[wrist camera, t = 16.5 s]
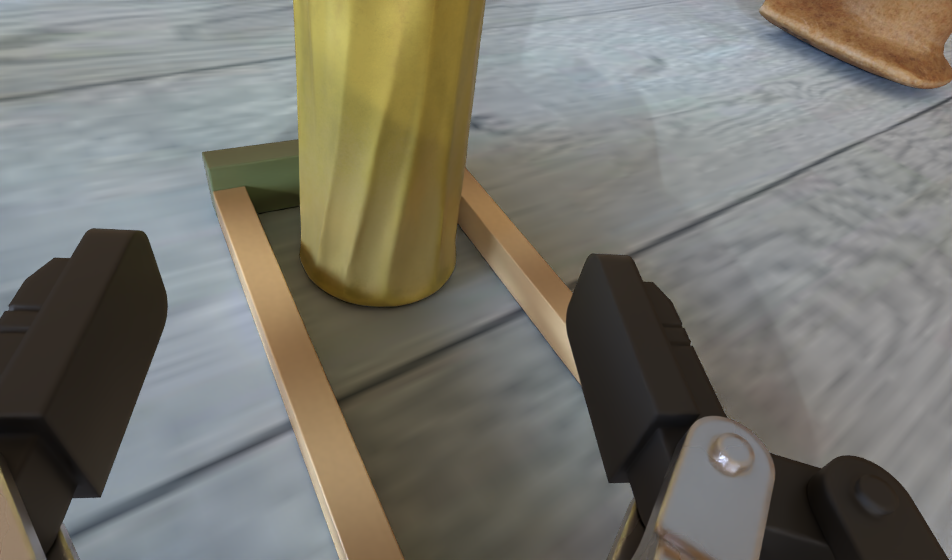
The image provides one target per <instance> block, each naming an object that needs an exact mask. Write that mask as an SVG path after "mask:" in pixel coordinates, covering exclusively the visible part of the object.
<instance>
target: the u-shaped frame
mask: <svg viewBox="0 0 952 560" xmlns="http://www.w3.org/2000/svg"><path fill="white" fill-rule="evenodd" d="M202 157H203V162H204V167H205V171H206V176H207V180H208V185H209V190H210V194H211V199H212V203H213V206H214V209H215V212H216V215H217V217H218V220H219V223H220V226H221V229H222V232H223V234H224V237H225V240H226V243H227V246H228V248H229V251H230V254H231V257H232V260H233V262H234V265H235V268H236V271H237V274H238V276H239V279H240V282H241V285H242V288H243V290H244V293H245V296H246V299H247V302H248V304H249V307H250V310H251V313H252V316H253V318H254V321H255V324H256V327H257V330H258V332H259V335H260V338H261V341H262V344H263V346H264V349H265V352H266V355H267V357H268V360H269V363H270V366H271V369H272V371H273V374H274V377H275V380H276V383H277V385H278V388H279V391H280V394H281V397H282V399H283V402H284V405H285V408H286V411H287V413H288V416H289V419H290V422H291V425H292V427H293V430H294V433H295V436H296V439H297V441H298V444H299V447H300V450H301V453H302V455H303V458H304V461H305V464H306V467H307V469H308V472H309V475H310V478H311V481H312V483H313V486H314V489H315V492H316V495H317V497H318V500H319V503H320V506H321V509H322V511H323V514H324V517H325V520H326V523H327V525H328V528H329V531H330V534H331V536H332V539H333V542H334V545H335V548H336V550H337V553H338V556H339V559H340V560H405V559H404V557H403V554H402V552H401V550H400V547H399V545H398V543H397V540H396V538H395V536H394V533H393V531H392V529H391V526H390V524H389V522H388V519H387V517H386V515H385V512H384V510H383V508H382V505H381V503H380V500H379V498H378V496H377V493H376V491H375V489H374V486H373V484H372V482H371V479H370V477H369V475H368V472H367V470H366V468H365V465H364V463H363V461H362V458H361V456H360V454H359V451H358V449H357V447H356V444H355V442H354V440H353V437H352V435H351V433H350V430H349V428H348V426H347V423H346V421H345V419H344V416H343V414H342V412H341V409H340V407H339V405H338V402H337V400H336V398H335V395H334V393H333V391H332V388H331V386H330V384H329V381H328V379H327V377H326V374H325V372H324V369H323V367H322V365H321V362H320V360H319V358H318V355H317V353H316V351H315V348H314V346H313V344H312V341H311V339H310V337H309V334H308V332H307V330H306V327H305V325H304V323H303V320H302V318H301V316H300V313H299V311H298V309H297V306H296V304H295V302H294V299H293V297H292V295H291V292H290V290H289V288H288V285H287V283H286V281H285V278H284V276H283V274H282V271H281V269H280V267H279V264H278V262H277V260H276V257H275V255H274V253H273V250H272V248H271V246H270V243H269V241H268V239H267V236H266V234H265V231H264V229H263V227H262V224H261V222H260V220H259V217H258V215H257V213H263V212H268V211H273V210H279V209H284V208H290V207H295V206H300V180H299V139H297V140H290V141H282V142H275V143H267V144H260V145H252V146H244V147H237V148H229V149H222V150H214V151H207V152H202ZM457 223H458V224H459V226H460V227H461V228H462V230H463V231H464V232H465V233H466V235H467V236H468V237H469V239H470V240H471V241H472V243H473V244H474V245H475V247H476V248H477V249H478V251H479V252H480V253H481V255H482V256H483V257H484V258H485V260H486V261H487V262H488V264H489V265H490V266H491V268H492V269H493V270H494V272H495V273H496V274H497V276H498V277H499V278H500V280H501V281H502V282H503V284H504V285H505V286H506V287H507V289H508V290H509V291H510V293H511V294H512V295H513V297H514V298H515V299H516V301H517V302H518V303H519V305H520V306H521V307H522V309H523V310H524V311H525V312H526V314H527V315H528V316H529V318H530V319H531V320H532V322H533V323H534V324H535V326H536V327H537V328H538V330H539V331H540V332H541V334H542V335H543V336H544V338H545V339H546V340H547V341H548V343H549V344H550V345H551V347H552V348H553V349H554V351H555V352H556V353H557V355H558V356H559V357H560V359H561V360H562V361H563V363H564V364H565V365H566V366H567V368H568V369H569V370H570V372H571V373H572V374H573V376H574V377H575V378H576V380H577V381H578V382H579V384H580V385H581V382H580V379H579V375H578V372H577V368H576V365H575V361H574V358H573V354H572V350H571V347H570V343H569V340H568V336H567V331H566V313H567V308H568V304H569V302H570V299H571V297H572V294H573V293H572V292H571V291H570V290H569V288H568V287H567V286H566V285H565V284H564V282H563V281H562V280H561V279H560V278H559V277H558V275H557V274H556V273H555V272H554V271H553V270H552V268H551V267H550V266H549V265H548V264H547V263H546V261H545V260H544V259H543V258H542V257H541V255H540V254H539V253H538V252H537V251H536V250H535V248H534V247H533V246H532V245H531V244H530V243H529V241H528V240H527V239H526V238H525V237H524V236H523V234H522V233H521V232H520V231H519V230H518V228H517V227H516V226H515V225H514V224H513V223H512V221H511V220H510V219H509V218H508V217H507V216H506V214H505V213H504V212H503V211H502V210H501V209H500V207H499V206H498V205H497V204H496V203H495V202H494V200H493V199H492V198H491V197H490V196H489V194H488V193H487V192H486V191H485V190H484V189H483V187H482V186H481V185H480V184H479V183H478V182H477V180H476V179H475V178H474V177H473V176H472V175H471V173H470V172H469V171H468V170H467V169H466V167H465V172H464V179H463V187H462V193H461V199H460V205H459V214H458V222H457Z"/></svg>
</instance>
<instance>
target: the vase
mask: <svg viewBox="0 0 952 560" xmlns="http://www.w3.org/2000/svg"><path fill="white" fill-rule="evenodd" d="M485 1H486V0H293V7H294V28H295V50H296V75H297V108H298V136H299V180H300V217H301V247H300V254H299V256H300V260H301V263H302V265H303V267H304V269H305V271H306V273H307V275H308V276H309V278H310V279H311V280H312V281H313V282H314V283H315V284H316V285H317V286H318V287H319V288H321V289H322V290H324V291H325V292H327V293H328V294H330V295H332V296H334V297H336V298H338V299H341V300H343V301H346V302H349V303H352V304H357V305H363V306H375V307H393V306H401V305H406V304H410V303H413V302H416V301H419V300H422V299H424V298H426V297H428V296H430V295H432V294H433V293H435V292H436V291H438V290H439V289H440V288H441V287H442V286H443V285H444V284H445V282H446V281H447V280H448V279H449V277H450V276H451V274H452V272H453V270H454V268H455V265H456V244H455V239H456V231H457V222H458V214H459V205H460V199H461V193H462V187H463V179H464V172H465V164H466V155H467V146H468V137H469V128H470V121H471V113H472V106H473V98H474V90H475V82H476V74H477V65H478V57H479V49H480V41H481V33H482V25H483V17H484V9H485Z"/></svg>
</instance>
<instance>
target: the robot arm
mask: <svg viewBox="0 0 952 560" xmlns="http://www.w3.org/2000/svg"><path fill="white" fill-rule="evenodd" d="M167 308H168V303H167V294H166V290H165V287H164V284H163V281H162V278H161V275H160V272H159V269H158V266H157V263H156V260H155V257H154V254H153V251H152V248H151V245H150V242H149V240H148V237H147V235H146V234H145V233H144V232H143V231H138V230H117V229H96V228H93V229H90V230H88V231H87V232H86V233H85V235H84V236H83V238H82V239H81V241H80V243H79V244H78V246H77V248H76V250H75V251H74V253H73V255H72V256H71V258H53V259H52V260H51V261H49V262H48V263H47V264H45V265H44V266H43V267H41V268H40V269H39V270H38V271H36V272H35V273H34V274H32V275H31V276H30V277H28V278H27V279H26V280H25V281H24V283H23V284H22V286H21V287H20V289H19V290H18V292H17V293H16V295H15V297H14V298H13V300H12V301H11V303H10V304H9V310H8V311H5V312H4V313H3V315H2V317H1V318H0V560H80V558H79V556H78V554H77V552H76V549H75V547H74V545H73V543H72V541H71V538H70V536H69V534H68V532H67V529H66V527H65V526H64V524H63V520H64V517H65V515H66V512H67V510H68V507H69V505H70V502H71V500H72V498H96V497H101V495H102V492H103V490H104V487H105V484H106V482H107V479H108V476H109V474H110V471H111V468H112V466H113V463H114V460H115V458H116V455H117V452H118V450H119V447H120V444H121V442H122V439H123V436H124V434H125V431H126V428H127V425H128V423H129V420H130V417H131V415H132V412H133V409H134V407H135V404H136V401H137V399H138V396H139V393H140V391H141V388H142V385H143V383H144V380H145V377H146V375H147V372H148V369H149V367H150V364H151V361H152V359H153V356H154V353H155V351H156V348H157V345H158V342H159V340H160V337H161V334H162V332H163V329H164V326H165V323H166V318H167ZM566 331H567V336H568V340H569V343H570V347H571V350H572V354H573V358H574V361H575V365H576V368H577V372H578V375H579V379H580V382H581V386H582V390H583V393H584V397H585V400H586V404H587V407H588V411H589V415H590V418H591V422H592V425H593V429H594V432H595V436H596V440H597V443H598V447H599V450H600V454H601V457H602V461H603V465H604V468H605V472H606V475H607V479H608V482H609V483H630V485H631V488H632V491H633V494H634V498H633V499H632V500H631V502H630V504H629V506H628V508H627V511H626V513H625V516H624V518H623V521H622V523H621V526H620V528H619V531H618V533H617V536H616V538H615V541H614V543H613V545H612V548H611V550H610V553H609V555H608V558H607V560H949V559H948V558H947V556H946V554H945V553H944V551H943V549H942V548H941V546H940V544H939V543H938V541H937V539H936V538H935V536H934V535H933V533H932V531H931V530H930V528H929V526H928V525H927V523H926V521H925V520H924V518H923V516H922V515H921V513H920V511H919V510H918V508H917V507H916V505H915V503H914V502H913V500H912V498H911V497H910V495H909V494H908V492H907V491H906V490H905V489H904V487H903V486H902V485H901V484H900V483H899V482H898V481H897V480H896V479H895V478H894V477H893V476H892V475H891V474H889V473H888V472H887V471H886V470H884V469H883V468H881V467H880V466H878V465H876V464H875V463H873V462H871V461H868V460H866V459H864V458H860V457H857V456H850V455H847V456H840V457H837V458H835V459H833V460H832V461H831V462H829V463H828V464H827V465H826V466H824V467H823V468H822V469H821V468H818V467H814V466H811V465H808V464H804V463H801V462H798V461H794V460H791V459H788V458H784V457H781V456H778V455H775V454H772V453H769V451H768V450H767V448H766V446H765V445H764V444H763V442H762V441H761V440H760V439H759V438H758V437H757V436H756V435H755V434H754V433H753V432H752V431H750V430H749V429H748V428H747V427H745V426H743V425H742V424H740V423H738V422H736V421H734V420H732V419H729V418H727V416H726V414H725V413H724V411H723V409H722V407H721V404H720V402H719V400H718V398H717V396H716V394H715V392H714V390H713V388H712V385H711V383H710V381H709V379H708V377H707V375H706V373H705V371H704V369H703V366H702V364H701V362H700V360H699V358H698V356H697V354H696V352H695V350H694V348H693V346H690V342H691V341H690V339H689V337H688V335H687V333H686V331H685V329H684V328H682V322H681V320H680V318H679V316H678V314H677V312H676V310H675V307H674V305H673V303H672V301H671V300H670V299H669V298H668V297H667V296H666V295H665V294H664V293H663V292H662V291H661V290H660V289H659V288H658V287H657V286H656V285H655V284H654V283H653V282H643V280H642V278H641V276H640V274H639V271H638V269H637V267H636V265H635V262H634V260H633V259H632V258H631V257H630V256H628V255H611V254H591V255H589V256H588V258H587V260H586V262H585V264H584V267H583V269H582V272H581V274H580V277H579V279H578V282H577V284H576V287H575V289H574V292H573V294H572V297H571V299H570V302H569V304H568V308H567V313H566Z"/></svg>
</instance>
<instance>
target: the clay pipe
mask: <svg viewBox="0 0 952 560" xmlns="http://www.w3.org/2000/svg"><path fill="white" fill-rule="evenodd" d="M759 12H760V14H761V15H762V16H763V17H764V18H765V19H766V20H768V21H769V22H770V23H772V24H774V25H775V26H777V27H779V28H781V29H782V30H784V31H785V32H787V33H789V34H791V35H793V36H795V37H796V38H798V39H800V40H802V41H804V42H806V43H808V44H810V45H812V46H814V47H815V48H817V49H819V50H821V51H823V52H825V53H827V54H829V55H832V56H834V57H836V58H838V59H840V60H842V61H844V62H846V63H849V64H851V65H853V66H856V67H858V68H860V69H863V70H865V71H868V72H870V73H873V74H875V75H878V76H881V77H884V78H886V79H889V80H892V81H894V82H897V83H900V84H903V85H905V86H910V87H914V88H921V89H932V88H938V87H941V86H944V85H946V84H947V83H949V82H950V81H951V80H952V68H951V66H950V65H949V63H948V61H947V60H946V59H945V57H944V55H943V51H944V44H945V42H946V41H947V39H948V37H949V36H950V34H951V33H952V0H765V2H764V3H763V5H762V6H761V7H760V9H759Z"/></svg>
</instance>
